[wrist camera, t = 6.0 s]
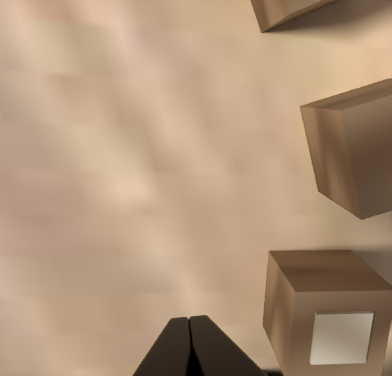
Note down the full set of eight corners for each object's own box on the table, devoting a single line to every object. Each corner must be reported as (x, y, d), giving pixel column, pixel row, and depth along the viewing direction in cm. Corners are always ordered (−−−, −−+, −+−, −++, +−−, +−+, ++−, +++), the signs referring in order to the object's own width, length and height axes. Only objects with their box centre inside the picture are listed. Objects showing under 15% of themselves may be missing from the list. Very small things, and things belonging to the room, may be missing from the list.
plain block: (400, 165, 21) (468, 186, 17) (317, 190, 21) (361, 219, 17) (387, 78, 20) (457, 74, 15) (299, 106, 20) (340, 110, 15)
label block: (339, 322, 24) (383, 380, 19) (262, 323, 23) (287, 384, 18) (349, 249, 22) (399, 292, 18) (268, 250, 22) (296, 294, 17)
